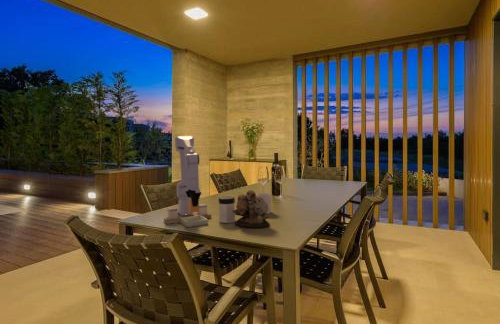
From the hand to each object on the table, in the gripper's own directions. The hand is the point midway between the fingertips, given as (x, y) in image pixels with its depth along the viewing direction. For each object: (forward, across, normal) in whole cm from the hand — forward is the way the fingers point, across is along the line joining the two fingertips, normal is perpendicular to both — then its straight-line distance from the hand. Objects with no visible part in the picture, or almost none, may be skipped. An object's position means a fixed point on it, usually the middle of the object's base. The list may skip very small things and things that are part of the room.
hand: (193, 205), depth 152 cm
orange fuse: (+3, 0, 0) cm, 3 cm away
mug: (+9, -2, +40) cm, 41 cm away
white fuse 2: (+9, -10, +8) cm, 15 cm away
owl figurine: (+9, +18, +22) cm, 30 cm away
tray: (+9, 0, 0) cm, 9 cm away
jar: (+9, +4, +16) cm, 19 cm away
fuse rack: (+9, -10, 0) cm, 13 cm away
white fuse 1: (+9, -10, -8) cm, 15 cm away
